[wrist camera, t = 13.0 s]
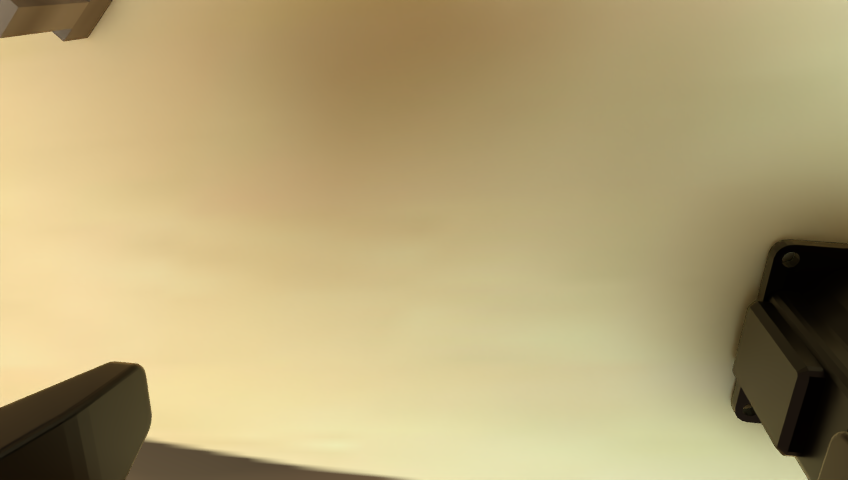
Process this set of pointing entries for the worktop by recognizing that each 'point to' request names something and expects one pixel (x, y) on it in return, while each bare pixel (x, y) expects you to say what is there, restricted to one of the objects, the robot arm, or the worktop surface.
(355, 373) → the worktop surface
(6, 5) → the rack
